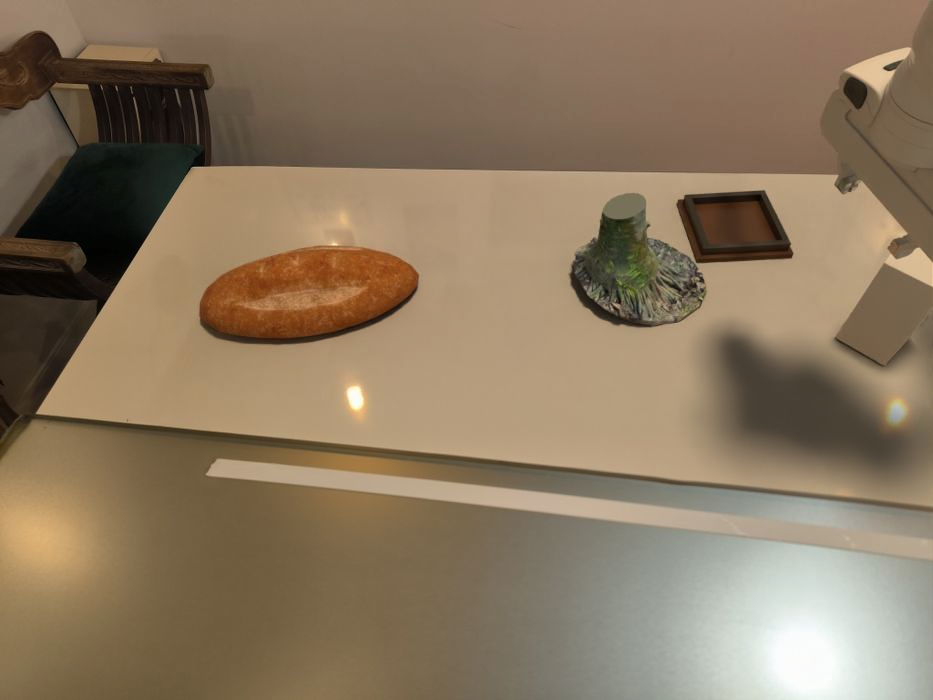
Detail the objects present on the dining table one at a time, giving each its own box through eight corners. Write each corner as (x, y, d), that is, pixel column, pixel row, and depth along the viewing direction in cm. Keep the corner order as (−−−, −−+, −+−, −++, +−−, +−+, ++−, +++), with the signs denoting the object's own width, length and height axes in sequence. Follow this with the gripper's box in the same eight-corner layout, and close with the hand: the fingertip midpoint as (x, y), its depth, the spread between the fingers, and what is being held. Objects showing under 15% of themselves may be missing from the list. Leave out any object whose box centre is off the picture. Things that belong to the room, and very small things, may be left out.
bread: (211, 277, 103) (189, 237, 96) (416, 249, 104) (409, 208, 97) (195, 357, 93) (169, 319, 86) (425, 326, 94) (417, 286, 87)
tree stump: (697, 345, 89) (692, 255, 76) (566, 333, 98) (542, 251, 85) (715, 256, 98) (714, 163, 85) (594, 253, 107) (576, 169, 94)
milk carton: (883, 367, 84) (963, 267, 69) (834, 338, 87) (900, 238, 72) (908, 339, 86) (990, 237, 71) (859, 312, 90) (928, 210, 75)
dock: (762, 198, 107) (767, 187, 105) (791, 258, 97) (797, 246, 96) (676, 203, 107) (679, 192, 105) (697, 263, 98) (700, 251, 96)
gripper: (1059, 188, 47) (965, 284, 59) (895, 37, 57) (843, 146, 69) (981, 215, 47) (903, 306, 59) (831, 60, 57) (790, 165, 69)
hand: (870, 219), depth 64 cm, fingers open, 8 cm apart
